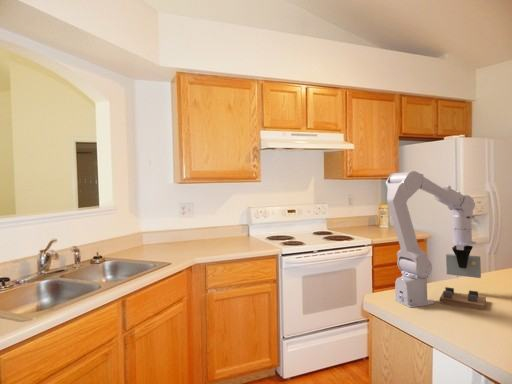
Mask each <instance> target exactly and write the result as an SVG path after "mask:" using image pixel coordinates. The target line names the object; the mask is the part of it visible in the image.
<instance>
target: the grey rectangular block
mask: <svg viewBox="0 0 512 384" xmlns="http://www.w3.org/2000/svg"><path fill="white" fill-rule="evenodd" d="M481 262H482V261H481V256H478V255H469V257H468V263H467V267H466V268H459V266H458V262H457V258H456V255H455V253H446V254H445V263H446V275H451V276H458V277H459V276H461V277H467V278H476V279H482V267H481V266H482V265H481V264H482V263H481Z"/></svg>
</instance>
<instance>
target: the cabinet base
mask: <svg viewBox="0 0 512 384" xmlns="http://www.w3.org/2000/svg"><path fill="white" fill-rule="evenodd" d="M468 294H469V293H468ZM468 294H467V293H461V292H455V291H454V295H452V299H451V298H445V297H444V295H443V292H442V293H441V295H440V296H439V304H444V305H449V306H456V307H461V308H468V309H474V310H480V311H485V308H486V304H487V299H486V298H487V297H486V296H483V295H482V296H481V295H478V298H477V302H471V301H468Z"/></svg>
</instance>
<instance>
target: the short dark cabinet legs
mask: <svg viewBox="0 0 512 384" xmlns="http://www.w3.org/2000/svg"><path fill="white" fill-rule="evenodd" d="M444 289H445V290H443V291H442V293H443V295H444V297H445V298H451V299H452V295H454V292H455V288H454V287H448V286H446V287H444ZM478 296H479V291H477V290H468V301H471V302H477V298H478Z"/></svg>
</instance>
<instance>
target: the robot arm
mask: <svg viewBox="0 0 512 384" xmlns="http://www.w3.org/2000/svg"><path fill="white" fill-rule="evenodd" d="M385 185H386V189H387V196H386V203H387V206H388V209H389V212H390V216H391V220H392V223H393V227H394V231H395V234H396V237H397V240H398V244H399V246H400V248H399V250H398V251H397V252H396V256H397V260H396V261H397V267H398V269H399V270H400V272H401V273H400V274H401V276H400V277H396V280H395V283H394V285H395V286H394V288H395V289H394V291H395V297H394V301H396V302H398V303H399V304H402V305H403V306H406V307H408V308H416V307H423V306H429V305H434V304H435V303H434V301H431V300H429V299H428V283H427V282H428V280H427V279H428V278H429V276H430V275H431V273H432V271H433V265H432V262H431V261H430V259H429V258H428V256H427V253H426V252H425V251H424V250H423V249H422V248H421V247H419V243H418V239H417V236H416V233H415V229H414V224H413V221H412V219H411V215H410V214H411V213H410V212H409V208H408V204H407V202H408V200H409V199H410V198H411V197H413V196H414V194H415V193H416V192H417V191H419V189H420V190H421V191H424V192H426V193H429V194H431V195H433V196H434V199H435V200H436V201H437V202H440V203H441V204H443V205H446V206H447V208H448V209H449V210H450V211H451V225H452V226H451V227H452V241H451V242H452V244H453V247H452V249H451V250H452V251H453V254H455V255H456V258H457V262H458V266H459V268H466V267H467V263H468V257H469V256H471V255H470V254H471V251H472V250H473V247H474V246H473V245H476V244H477V241H475V240H473V234H472V233H473V232H472V231H473V230H472V228H473V227H472V216H473V214H474V209H475V207H476V202H475V200H474V199H473V197H471V196H470V195H469V194H462V193H461V192H460V191H458V190H454V189H452V186H450V185H441V186H440V185H439V184H436V183H435V182H433V181H432V180H431V179H428V178H426V177H425V176H424V174H423V173H420V172H418V171H416V170H412V171H405V172H393V173H391V174H390V175H389V176H388V177H387V180H386V181H385Z"/></svg>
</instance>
